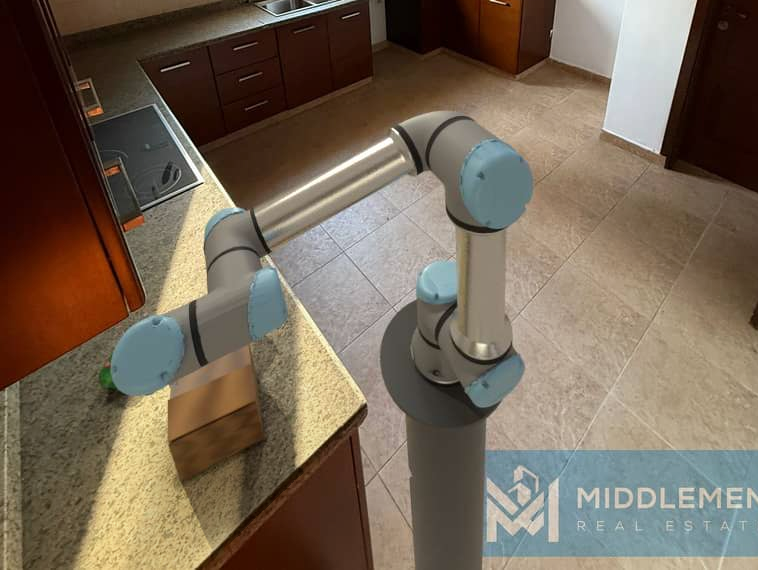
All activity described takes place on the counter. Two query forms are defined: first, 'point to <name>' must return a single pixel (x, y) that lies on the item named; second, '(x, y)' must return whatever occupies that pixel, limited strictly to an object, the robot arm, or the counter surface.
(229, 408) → the flap
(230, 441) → the carton
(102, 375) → the snack package
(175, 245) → the counter surface
